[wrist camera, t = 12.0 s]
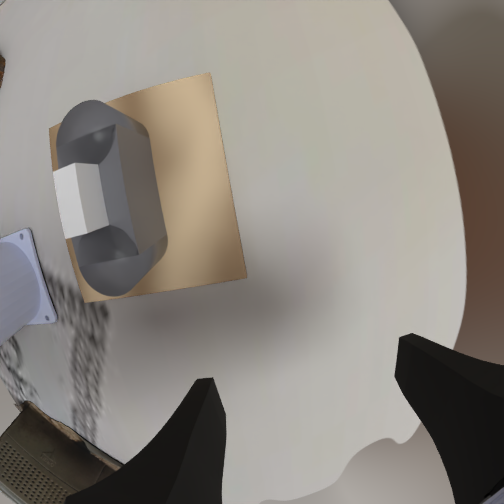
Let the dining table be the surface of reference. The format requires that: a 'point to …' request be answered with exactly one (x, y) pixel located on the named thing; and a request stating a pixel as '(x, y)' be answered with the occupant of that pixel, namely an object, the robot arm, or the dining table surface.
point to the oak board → (182, 188)
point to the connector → (109, 197)
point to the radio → (47, 460)
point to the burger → (1, 69)
